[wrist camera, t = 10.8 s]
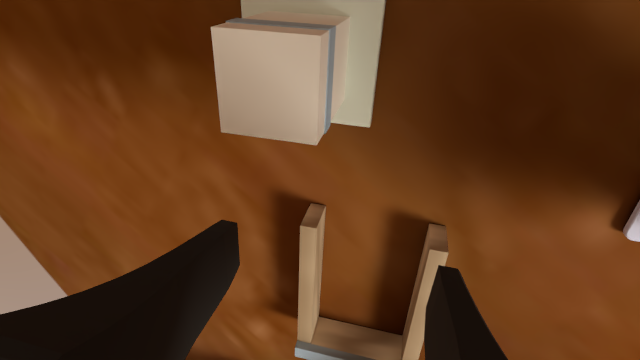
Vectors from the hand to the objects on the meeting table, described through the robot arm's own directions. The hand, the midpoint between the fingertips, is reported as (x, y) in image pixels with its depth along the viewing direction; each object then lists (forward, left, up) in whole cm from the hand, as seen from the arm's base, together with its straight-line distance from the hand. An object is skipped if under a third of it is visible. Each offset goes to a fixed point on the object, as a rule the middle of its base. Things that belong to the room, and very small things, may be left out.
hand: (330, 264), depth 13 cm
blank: (+3, -5, -9) cm, 11 cm away
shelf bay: (-1, +10, -10) cm, 14 cm away
